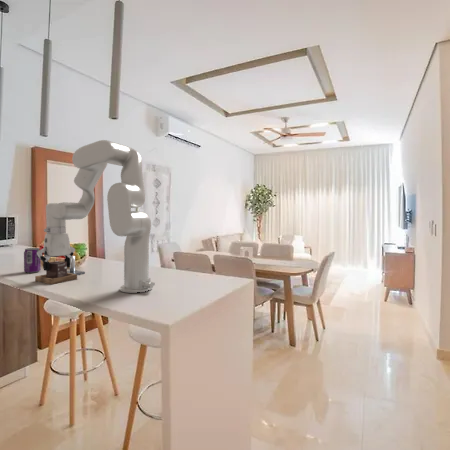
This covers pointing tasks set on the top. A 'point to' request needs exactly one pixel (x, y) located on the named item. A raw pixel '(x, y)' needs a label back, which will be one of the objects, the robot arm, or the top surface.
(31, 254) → the beverage can
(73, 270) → the gauge stand
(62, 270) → the box
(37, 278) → the tray
